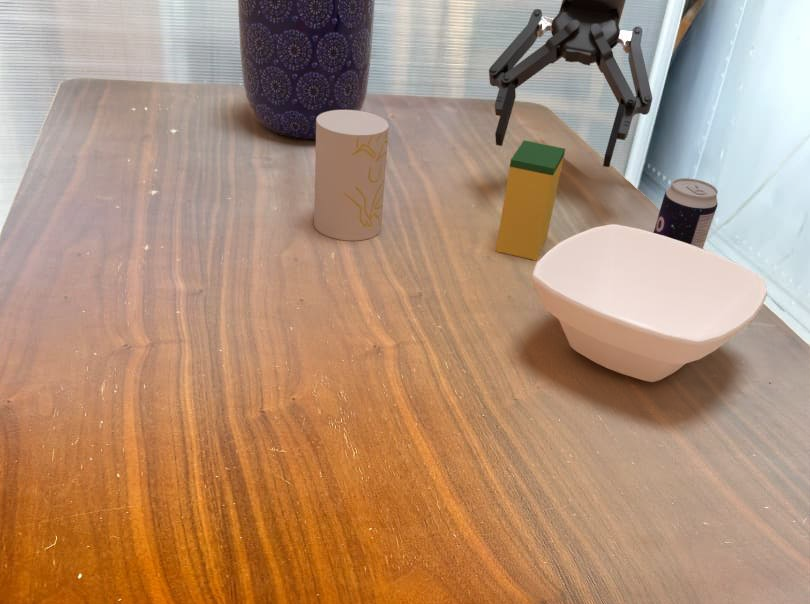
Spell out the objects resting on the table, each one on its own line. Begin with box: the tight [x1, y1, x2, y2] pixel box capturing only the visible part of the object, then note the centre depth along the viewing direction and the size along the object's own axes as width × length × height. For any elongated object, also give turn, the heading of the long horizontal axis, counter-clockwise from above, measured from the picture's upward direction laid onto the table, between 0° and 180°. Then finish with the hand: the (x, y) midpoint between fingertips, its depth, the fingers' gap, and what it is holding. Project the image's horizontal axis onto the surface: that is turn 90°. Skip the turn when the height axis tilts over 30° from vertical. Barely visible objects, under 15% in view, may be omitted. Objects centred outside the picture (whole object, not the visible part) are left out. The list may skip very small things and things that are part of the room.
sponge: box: [495, 140, 566, 261], centre depth 104 cm, size 5×7×11 cm
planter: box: [237, 0, 375, 140], centre depth 124 cm, size 18×18×21 cm
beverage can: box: [652, 177, 719, 249], centre depth 98 cm, size 6×6×12 cm
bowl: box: [530, 223, 768, 383], centre depth 88 cm, size 21×21×9 cm
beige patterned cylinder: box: [313, 110, 390, 242], centre depth 103 cm, size 8×8×12 cm
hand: (552, 151), depth 108 cm, fingers open, 13 cm apart
